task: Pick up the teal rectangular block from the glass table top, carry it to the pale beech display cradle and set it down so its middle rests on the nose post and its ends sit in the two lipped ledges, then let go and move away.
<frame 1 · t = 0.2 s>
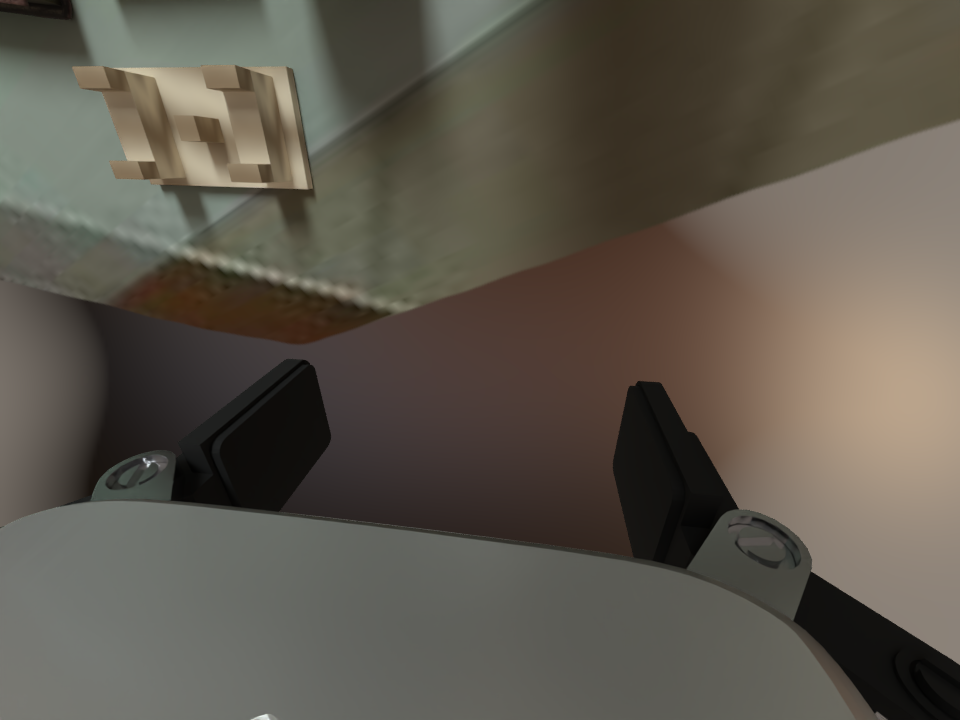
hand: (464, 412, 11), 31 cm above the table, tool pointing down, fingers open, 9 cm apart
display cradle: (219, 131, 38), on the table
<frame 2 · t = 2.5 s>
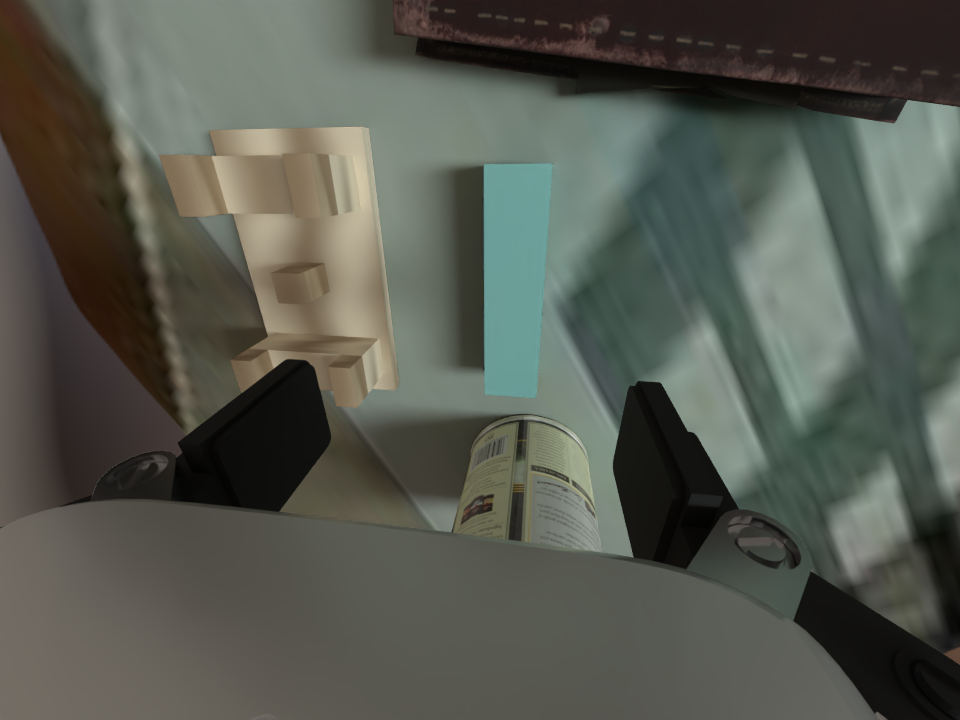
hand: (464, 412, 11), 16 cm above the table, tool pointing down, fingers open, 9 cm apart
display cradle: (321, 273, 27), on the table
teal rectangular block: (517, 279, 26), on the table
coffee can: (529, 460, 33), on the table
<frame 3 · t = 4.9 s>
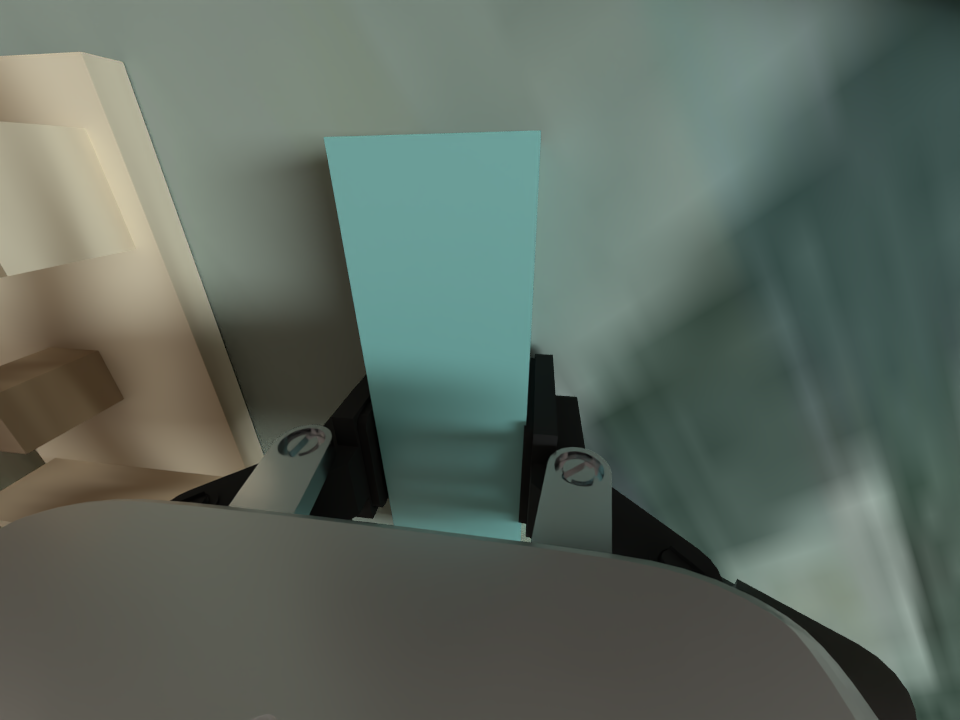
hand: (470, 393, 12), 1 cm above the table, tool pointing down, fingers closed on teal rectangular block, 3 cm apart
display cradle: (115, 361, 14), on the table
teal rectangular block: (475, 384, 13), on the table, touching gripper
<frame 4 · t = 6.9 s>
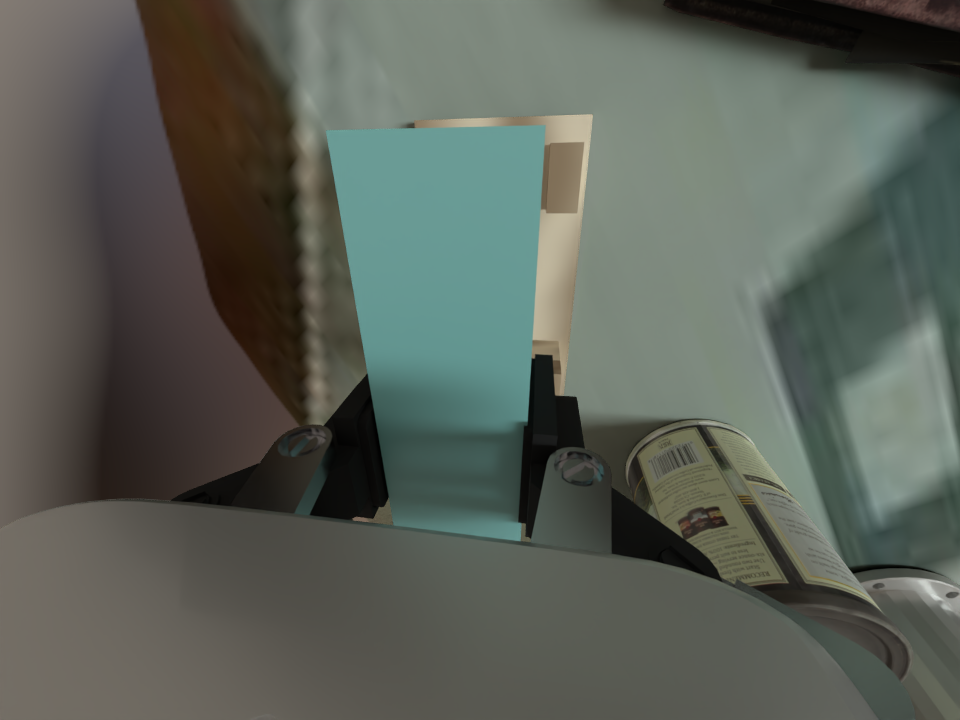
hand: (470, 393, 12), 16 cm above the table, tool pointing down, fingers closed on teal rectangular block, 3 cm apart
display cradle: (500, 273, 26), on the table
teal rectangular block: (476, 382, 13), point 15 cm above the table, touching gripper
coffee can: (689, 466, 31), on the table
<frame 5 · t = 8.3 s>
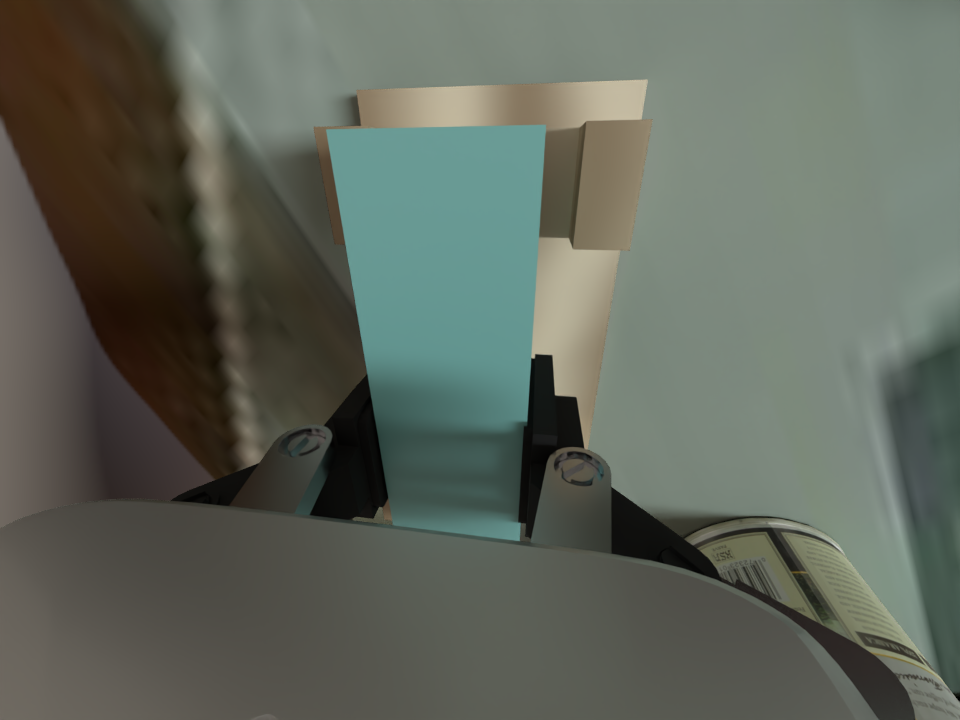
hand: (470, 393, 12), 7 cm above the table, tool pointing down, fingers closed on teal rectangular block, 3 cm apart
display cradle: (494, 320, 18), on the table
teal rectangular block: (475, 382, 13), point 6 cm above the table, touching gripper
coffee can: (746, 570, 23), on the table
when the fingers open (6 cm above the table, at t = 9.1 s): teal rectangular block drops 1 cm, resting on display cradle.
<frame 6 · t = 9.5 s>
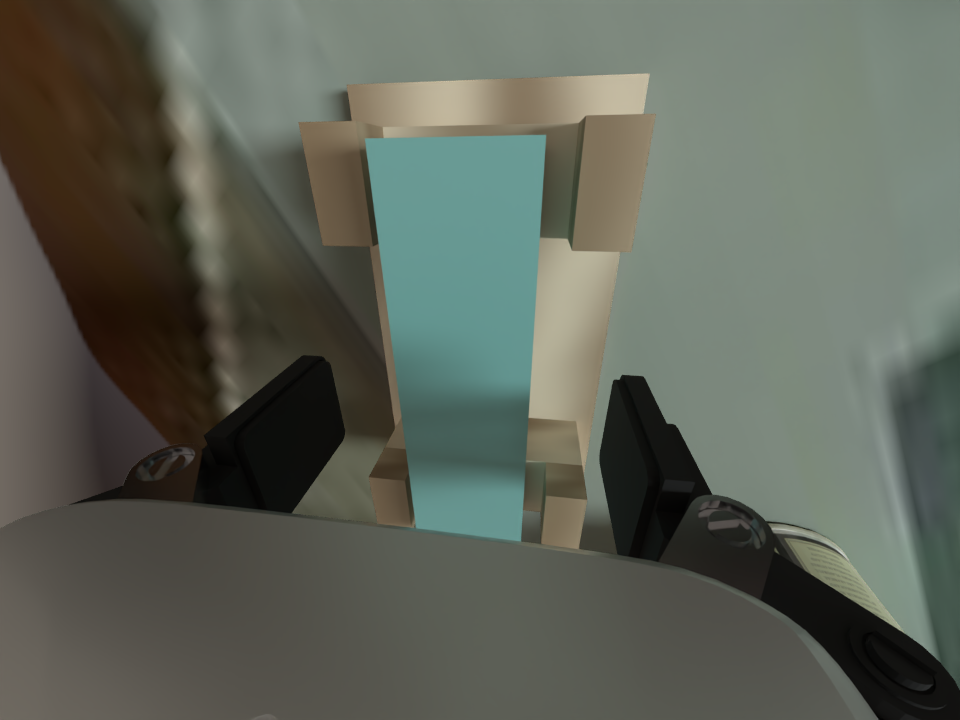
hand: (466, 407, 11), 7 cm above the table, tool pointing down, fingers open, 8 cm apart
display cradle: (491, 322, 17), on the table
teal rectangular block: (483, 363, 14), point 4 cm above the table, touching display cradle
coffee can: (748, 575, 23), on the table
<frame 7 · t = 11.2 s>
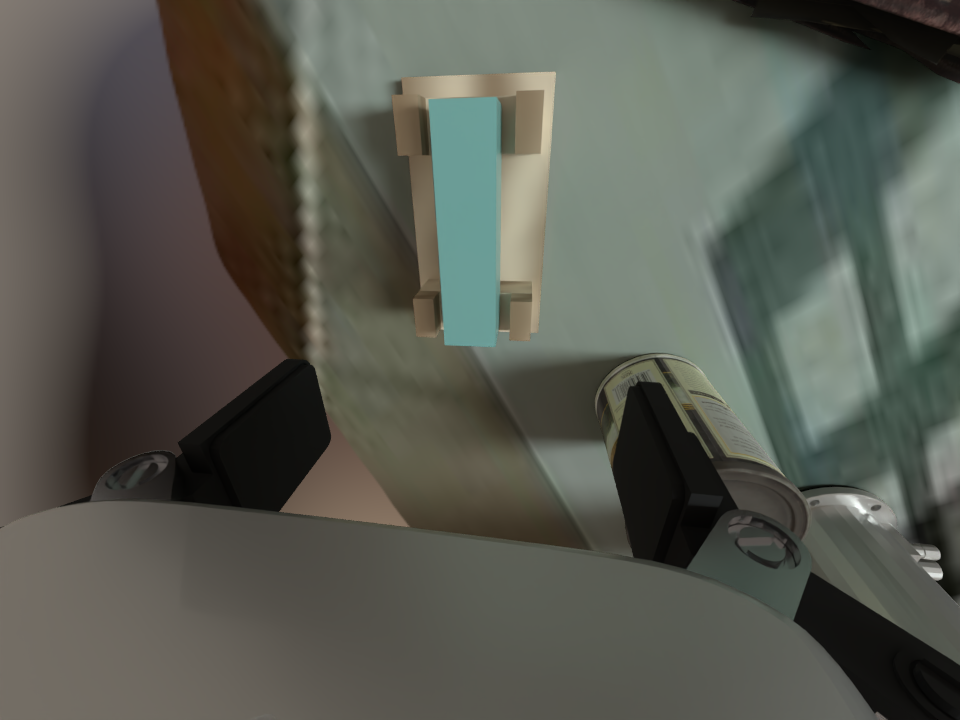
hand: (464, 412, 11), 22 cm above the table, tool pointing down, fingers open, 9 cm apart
display cradle: (480, 220, 29), on the table
teal rectangular block: (475, 229, 26), point 4 cm above the table, touching display cradle
coffee can: (650, 399, 35), on the table
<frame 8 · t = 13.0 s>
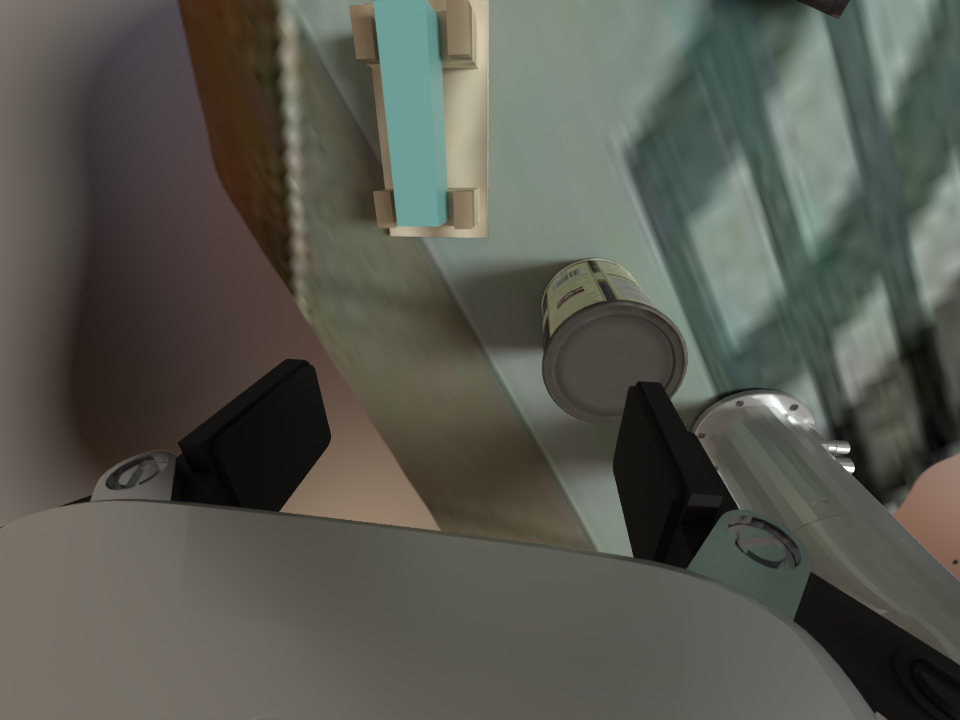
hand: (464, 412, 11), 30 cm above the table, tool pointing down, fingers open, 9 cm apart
display cradle: (434, 133, 35), on the table
teal rectangular block: (424, 130, 31), point 4 cm above the table, touching display cradle
coffee can: (590, 305, 40), on the table
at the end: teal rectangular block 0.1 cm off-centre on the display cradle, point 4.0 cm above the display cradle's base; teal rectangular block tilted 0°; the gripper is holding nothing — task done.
